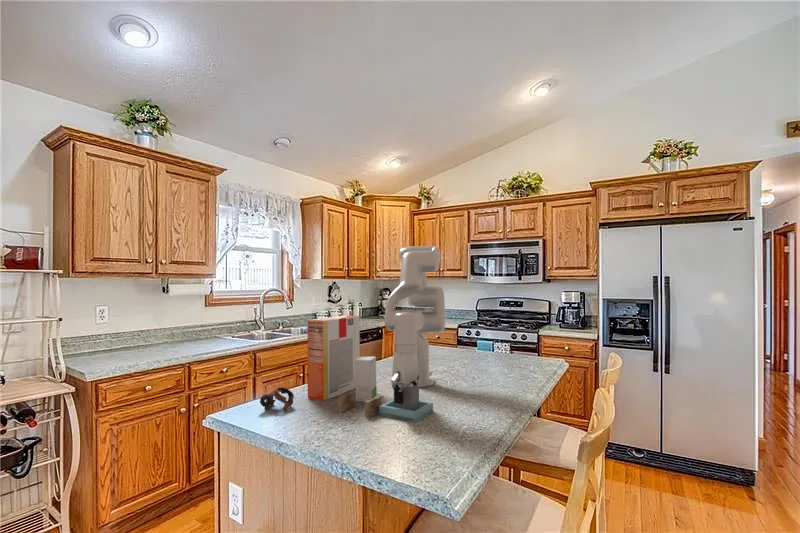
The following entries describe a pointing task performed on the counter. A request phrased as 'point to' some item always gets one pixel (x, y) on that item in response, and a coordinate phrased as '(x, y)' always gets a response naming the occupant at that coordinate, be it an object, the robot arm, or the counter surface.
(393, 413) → the tray
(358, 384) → the skincare box
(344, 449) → the counter surface
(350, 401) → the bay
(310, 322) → the cereal box
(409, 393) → the grey rectangular block
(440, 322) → the robot arm
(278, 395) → the brown looped piece
